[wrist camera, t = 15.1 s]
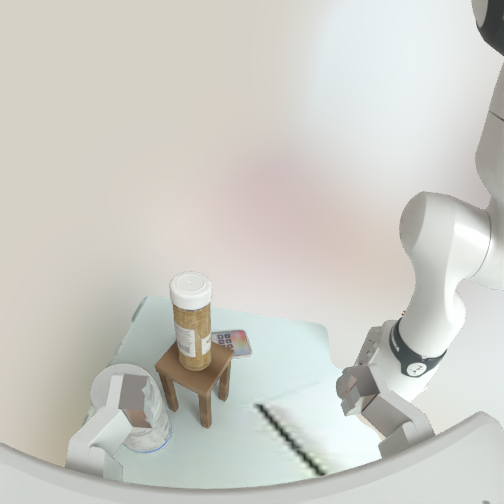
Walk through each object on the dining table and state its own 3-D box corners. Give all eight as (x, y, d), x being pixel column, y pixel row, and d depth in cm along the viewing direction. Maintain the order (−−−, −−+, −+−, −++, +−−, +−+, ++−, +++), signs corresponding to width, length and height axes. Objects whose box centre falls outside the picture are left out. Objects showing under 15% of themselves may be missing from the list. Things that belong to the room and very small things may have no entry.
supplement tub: (111, 415, 37) (81, 370, 30) (159, 400, 42) (143, 352, 35) (130, 463, 31) (99, 432, 23) (182, 445, 36) (170, 410, 28)
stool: (190, 377, 48) (185, 329, 40) (229, 395, 45) (233, 350, 38) (167, 408, 41) (154, 365, 34) (208, 430, 39) (206, 392, 32)
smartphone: (253, 355, 54) (178, 362, 50) (253, 358, 54) (178, 365, 50) (245, 328, 59) (175, 334, 56) (244, 331, 60) (176, 337, 56)
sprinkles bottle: (217, 364, 36) (220, 288, 29) (187, 377, 33) (179, 302, 26) (201, 341, 39) (200, 265, 32) (173, 352, 36) (162, 276, 29)
